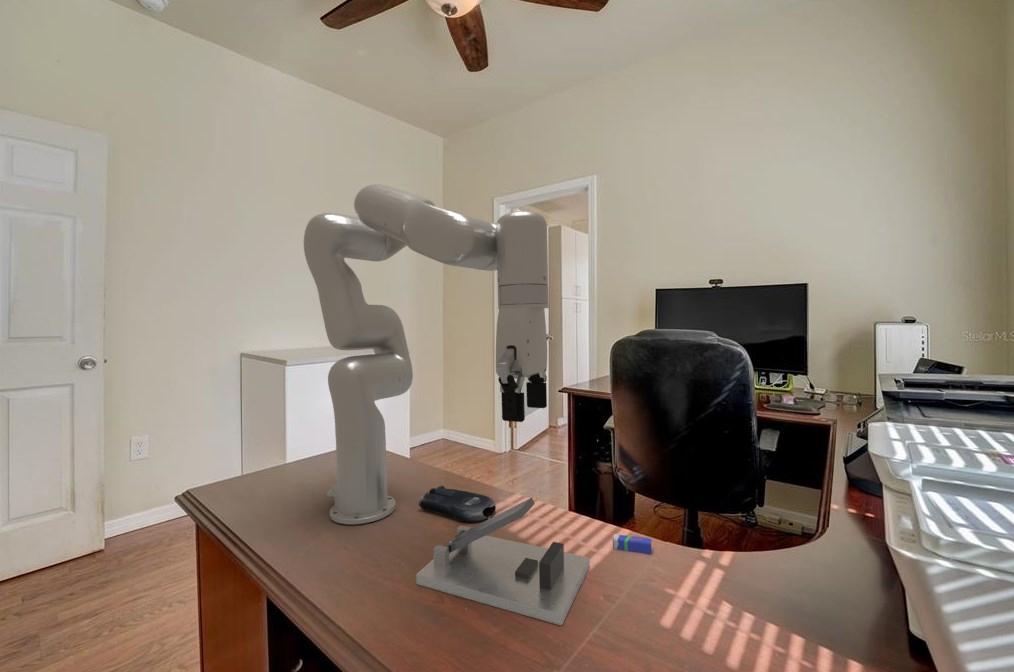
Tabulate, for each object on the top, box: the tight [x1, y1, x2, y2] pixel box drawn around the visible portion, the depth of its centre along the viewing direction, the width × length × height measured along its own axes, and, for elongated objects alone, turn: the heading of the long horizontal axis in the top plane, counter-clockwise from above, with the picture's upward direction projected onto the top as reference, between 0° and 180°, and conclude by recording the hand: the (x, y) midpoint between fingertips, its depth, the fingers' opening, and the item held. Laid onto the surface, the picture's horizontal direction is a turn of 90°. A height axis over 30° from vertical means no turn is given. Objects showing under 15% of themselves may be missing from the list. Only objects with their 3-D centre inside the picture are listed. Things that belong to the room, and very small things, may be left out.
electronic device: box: [418, 484, 497, 523], centre depth 88 cm, size 9×6×15 cm
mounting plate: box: [415, 525, 591, 626], centre depth 65 cm, size 22×14×5 cm, turn 65°
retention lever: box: [443, 497, 536, 554], centre depth 66 cm, size 16×5×1 cm
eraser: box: [612, 533, 652, 555], centre depth 72 cm, size 2×6×2 cm, turn 70°
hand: (525, 413), depth 65 cm, fingers open, 9 cm apart
